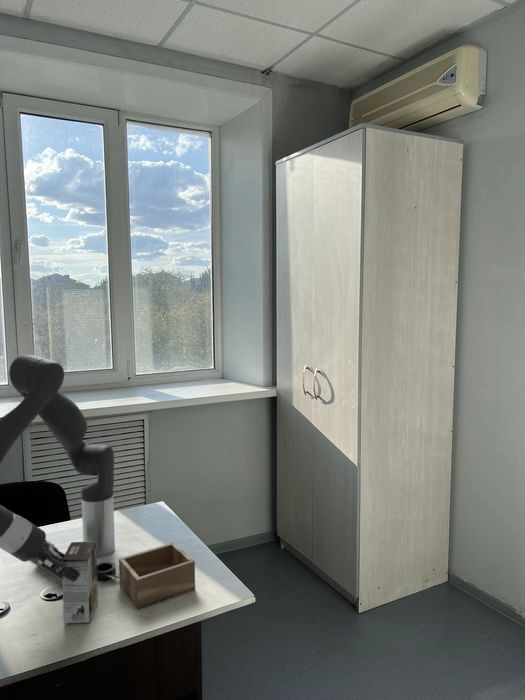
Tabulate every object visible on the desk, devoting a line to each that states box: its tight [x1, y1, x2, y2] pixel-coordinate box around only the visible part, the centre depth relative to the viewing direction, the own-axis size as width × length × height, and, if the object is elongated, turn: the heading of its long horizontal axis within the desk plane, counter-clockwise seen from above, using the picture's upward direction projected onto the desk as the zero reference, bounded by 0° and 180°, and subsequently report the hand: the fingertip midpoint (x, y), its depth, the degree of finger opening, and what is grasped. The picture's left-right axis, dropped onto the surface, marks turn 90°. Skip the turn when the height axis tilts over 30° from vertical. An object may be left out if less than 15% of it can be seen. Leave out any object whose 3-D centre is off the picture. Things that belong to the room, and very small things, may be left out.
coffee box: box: [62, 541, 99, 624], centre depth 129 cm, size 9×6×16 cm
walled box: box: [118, 542, 196, 611], centre depth 140 cm, size 13×16×8 cm
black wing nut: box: [97, 561, 120, 583], centre depth 147 cm, size 8×10×3 cm
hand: (72, 569), depth 127 cm, fingers closed on coffee box, 8 cm apart
